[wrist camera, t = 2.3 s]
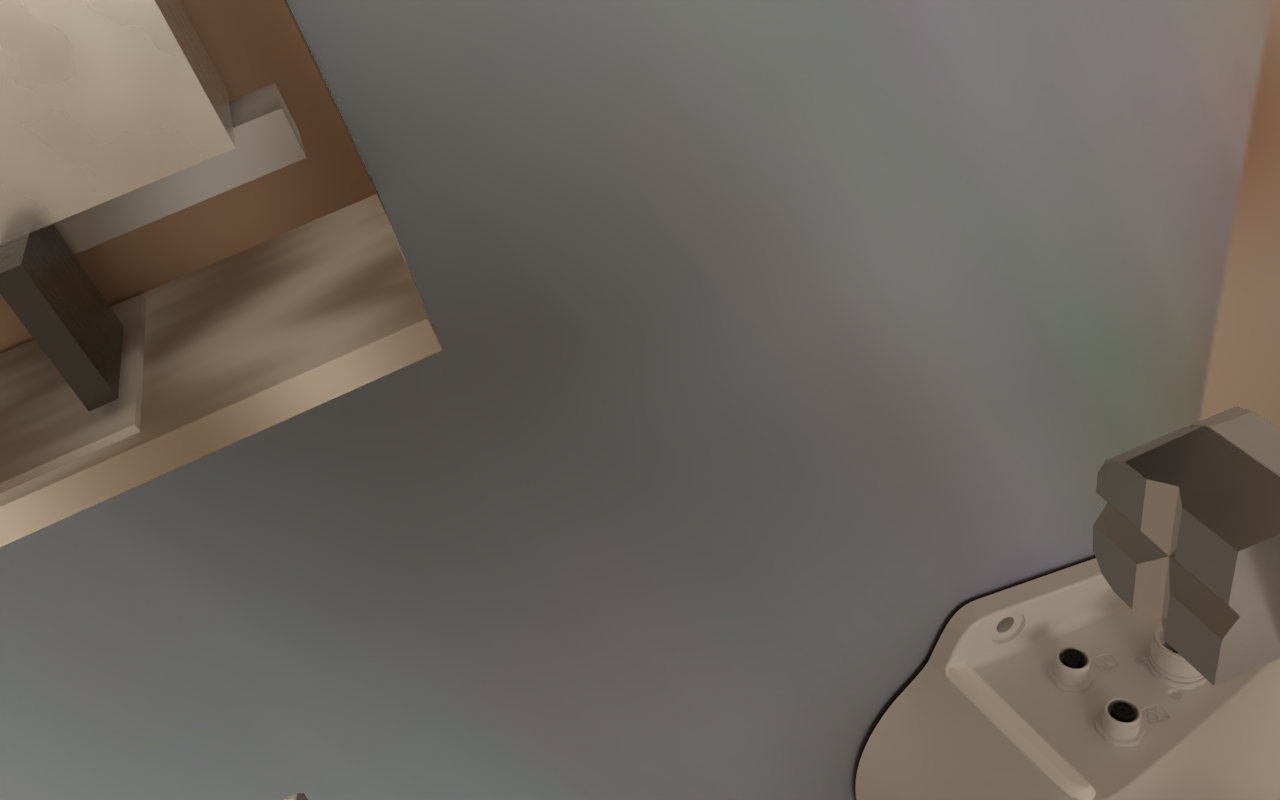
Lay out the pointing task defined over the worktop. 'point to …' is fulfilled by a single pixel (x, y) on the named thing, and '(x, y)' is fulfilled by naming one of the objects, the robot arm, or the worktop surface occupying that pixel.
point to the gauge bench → (218, 290)
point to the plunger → (91, 153)
